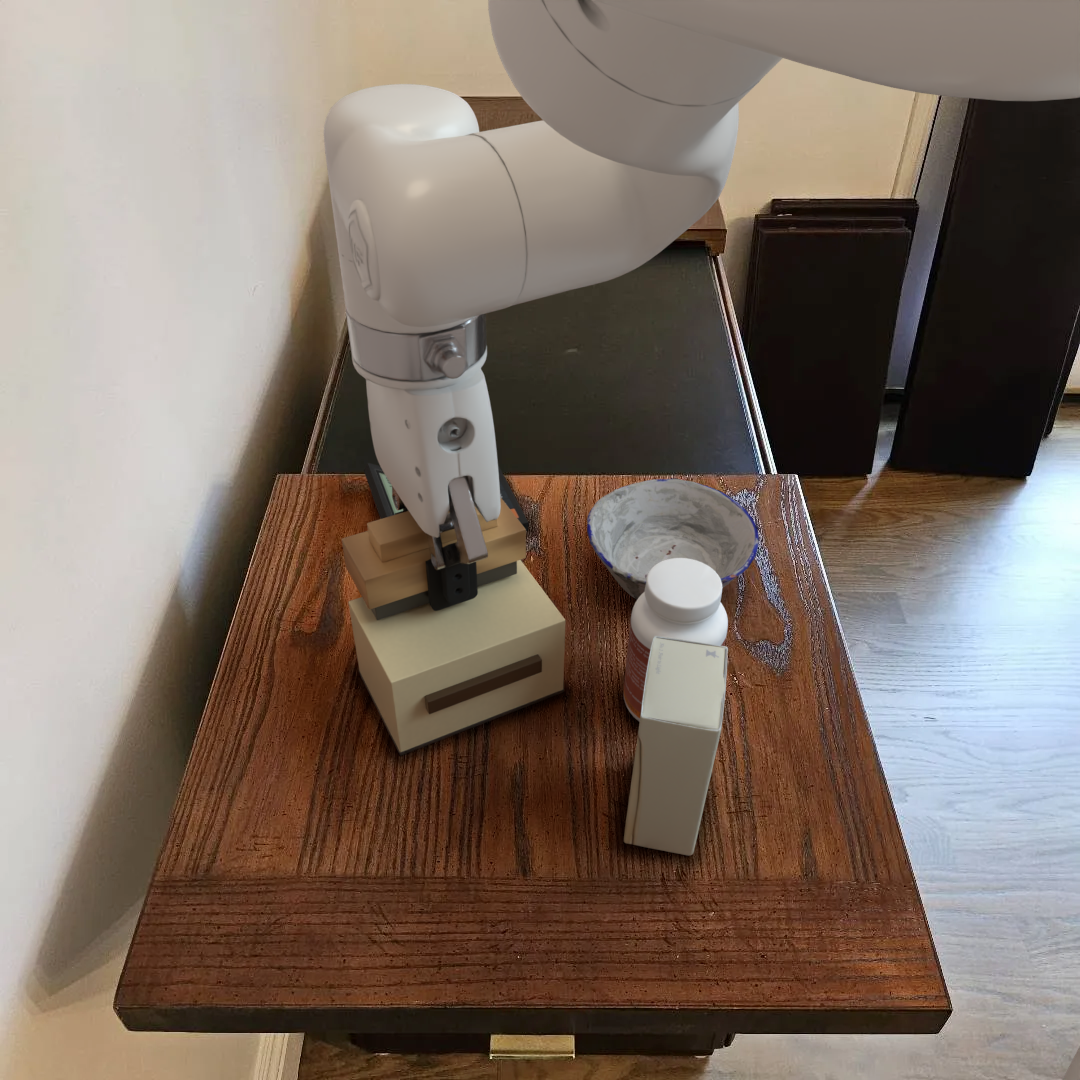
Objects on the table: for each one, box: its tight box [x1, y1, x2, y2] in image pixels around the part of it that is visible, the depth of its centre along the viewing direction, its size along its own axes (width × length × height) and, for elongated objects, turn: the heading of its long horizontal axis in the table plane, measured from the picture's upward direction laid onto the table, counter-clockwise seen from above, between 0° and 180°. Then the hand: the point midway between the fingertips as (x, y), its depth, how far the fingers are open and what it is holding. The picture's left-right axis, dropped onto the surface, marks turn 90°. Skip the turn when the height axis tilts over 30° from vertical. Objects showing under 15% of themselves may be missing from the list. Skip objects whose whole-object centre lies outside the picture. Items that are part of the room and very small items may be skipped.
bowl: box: [586, 477, 760, 601], centre depth 77 cm, size 13×13×5 cm
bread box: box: [348, 559, 566, 757], centre depth 67 cm, size 9×12×7 cm
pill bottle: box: [623, 558, 729, 723], centre depth 65 cm, size 6×6×11 cm
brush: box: [341, 497, 527, 620], centre depth 65 cm, size 11×4×6 cm, turn 117°
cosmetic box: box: [623, 636, 729, 856], centre depth 58 cm, size 6×4×12 cm
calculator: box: [363, 462, 529, 532], centre depth 83 cm, size 9×12×3 cm
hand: (437, 575), depth 67 cm, fingers closed on brush, 4 cm apart
